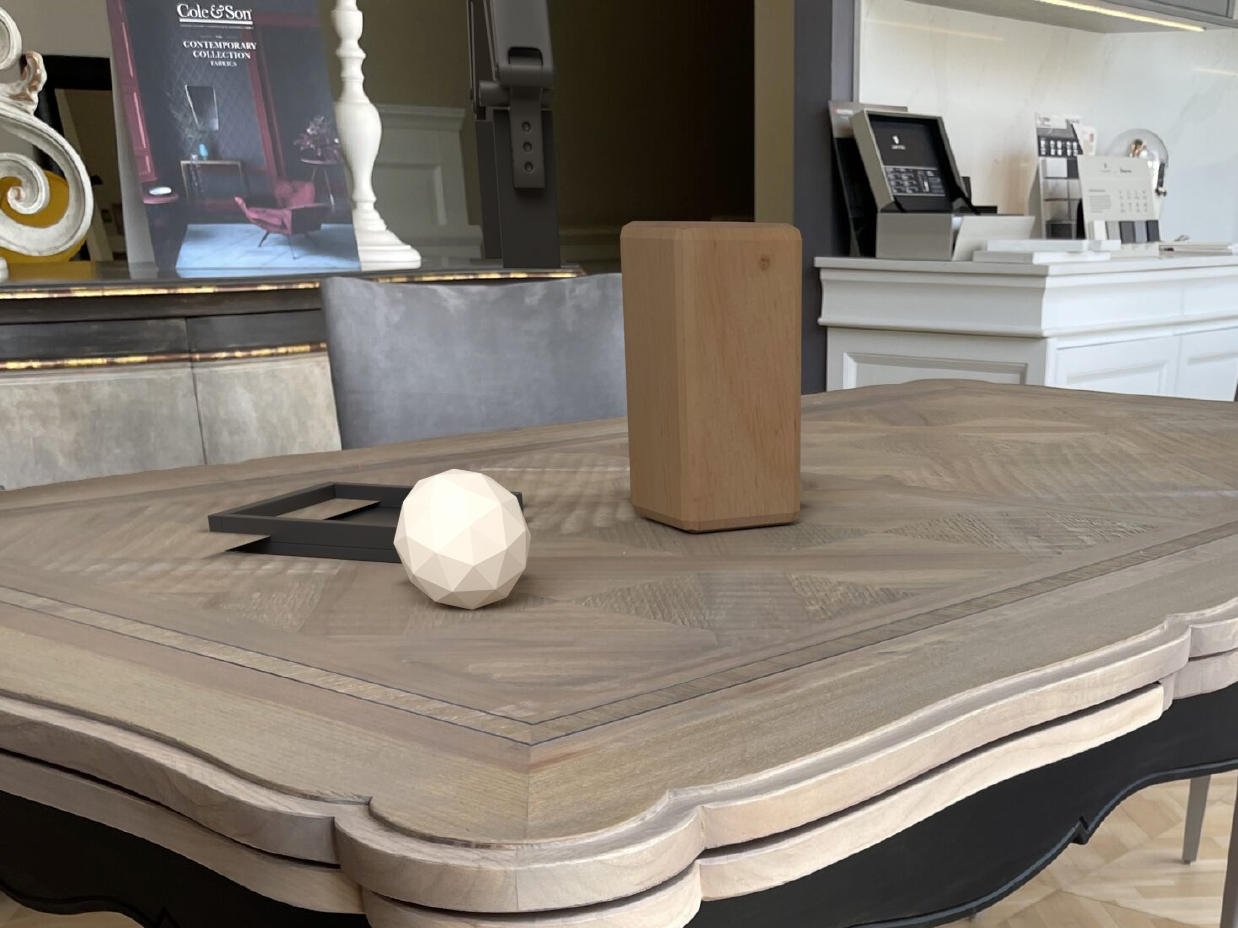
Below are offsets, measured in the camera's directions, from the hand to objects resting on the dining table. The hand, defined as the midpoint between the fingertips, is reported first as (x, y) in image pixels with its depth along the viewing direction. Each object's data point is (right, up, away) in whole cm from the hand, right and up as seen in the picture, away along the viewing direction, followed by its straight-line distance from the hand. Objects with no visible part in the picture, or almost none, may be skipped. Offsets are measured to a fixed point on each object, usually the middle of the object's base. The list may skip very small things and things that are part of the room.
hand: (520, 264), depth 82 cm
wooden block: (+8, 0, +39) cm, 39 cm away
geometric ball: (-5, -14, +13) cm, 20 cm away
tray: (-16, -3, +31) cm, 35 cm away
